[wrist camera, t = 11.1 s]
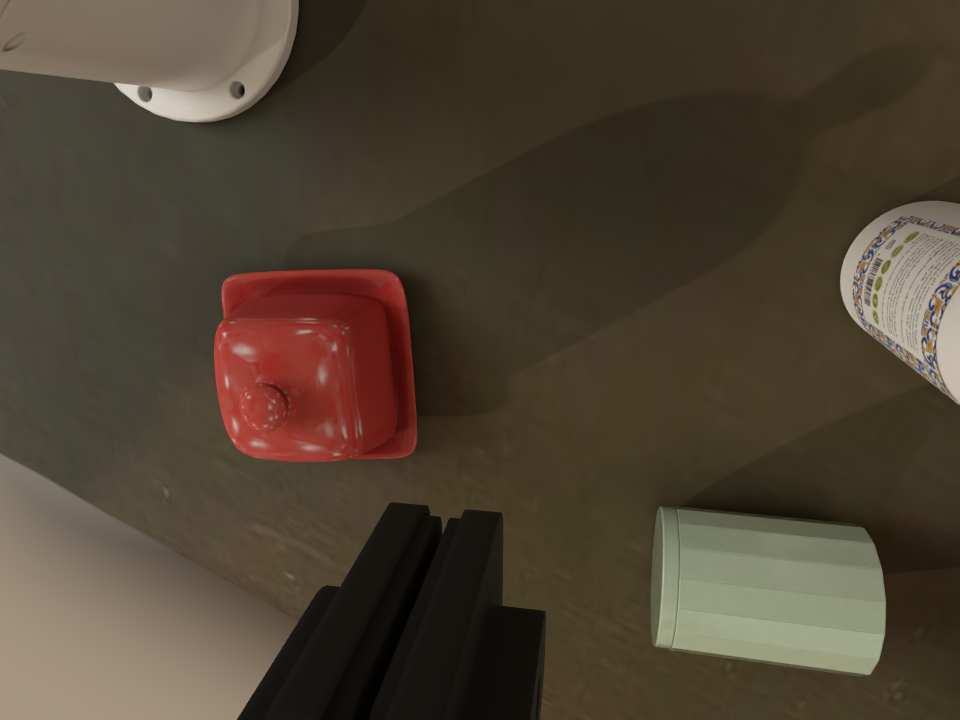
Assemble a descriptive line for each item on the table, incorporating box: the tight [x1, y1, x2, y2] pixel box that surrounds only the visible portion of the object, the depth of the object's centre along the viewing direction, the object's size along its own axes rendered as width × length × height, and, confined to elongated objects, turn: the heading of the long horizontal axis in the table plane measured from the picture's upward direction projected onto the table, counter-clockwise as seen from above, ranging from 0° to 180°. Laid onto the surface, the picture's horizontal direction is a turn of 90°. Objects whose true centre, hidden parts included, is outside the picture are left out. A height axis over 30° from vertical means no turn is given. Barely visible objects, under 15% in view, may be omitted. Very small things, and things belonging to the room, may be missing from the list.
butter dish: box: [214, 269, 417, 462], centre depth 37 cm, size 12×12×8 cm
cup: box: [651, 506, 886, 676], centre depth 36 cm, size 7×7×10 cm
